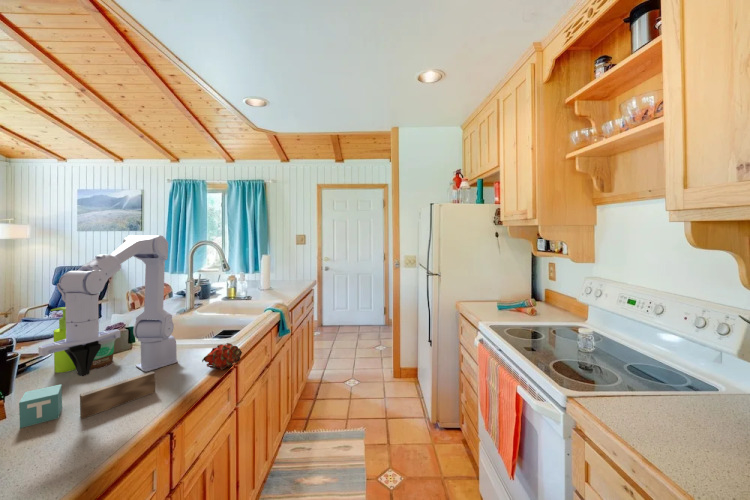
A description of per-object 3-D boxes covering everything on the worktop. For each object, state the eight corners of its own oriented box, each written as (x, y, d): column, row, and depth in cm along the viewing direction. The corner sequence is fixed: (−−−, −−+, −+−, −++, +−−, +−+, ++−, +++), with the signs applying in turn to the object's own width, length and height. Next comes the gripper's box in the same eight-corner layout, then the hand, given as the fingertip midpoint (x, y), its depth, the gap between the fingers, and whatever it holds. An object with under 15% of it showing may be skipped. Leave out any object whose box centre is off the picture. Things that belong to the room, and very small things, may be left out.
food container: (86, 374, 93) (86, 343, 92) (71, 372, 94) (71, 341, 93) (127, 359, 105) (126, 331, 104) (113, 357, 106) (112, 329, 106)
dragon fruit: (245, 369, 102) (205, 380, 97) (242, 348, 108) (204, 358, 103) (242, 355, 97) (200, 367, 92) (239, 334, 103) (199, 344, 98)
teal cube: (62, 407, 76) (61, 384, 75) (58, 418, 71) (57, 394, 71) (26, 416, 72) (25, 391, 71) (19, 429, 67) (18, 403, 67)
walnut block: (152, 390, 84) (152, 371, 84) (155, 392, 83) (155, 372, 83) (80, 416, 72) (79, 394, 71) (82, 418, 71) (81, 396, 71)
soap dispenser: (63, 364, 99) (61, 305, 98) (85, 364, 100) (84, 305, 99) (45, 372, 93) (43, 309, 93) (69, 372, 94) (67, 309, 93)
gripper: (110, 311, 81) (110, 360, 81) (31, 325, 67) (32, 384, 68) (124, 314, 78) (125, 365, 78) (46, 329, 64) (47, 391, 65)
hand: (83, 374), depth 73 cm, fingers closed
